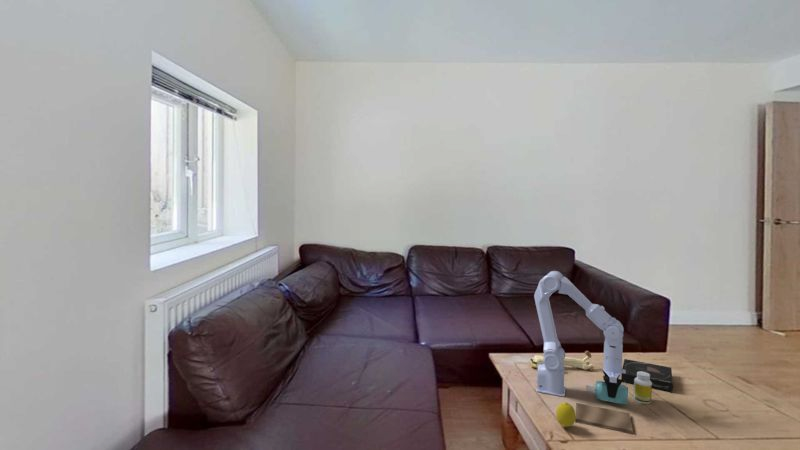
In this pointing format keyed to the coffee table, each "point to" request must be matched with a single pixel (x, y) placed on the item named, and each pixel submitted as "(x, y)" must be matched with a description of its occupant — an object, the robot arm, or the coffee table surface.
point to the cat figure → (566, 361)
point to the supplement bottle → (642, 388)
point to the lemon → (565, 414)
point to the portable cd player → (658, 374)
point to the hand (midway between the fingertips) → (611, 394)
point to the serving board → (603, 418)
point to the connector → (603, 395)
